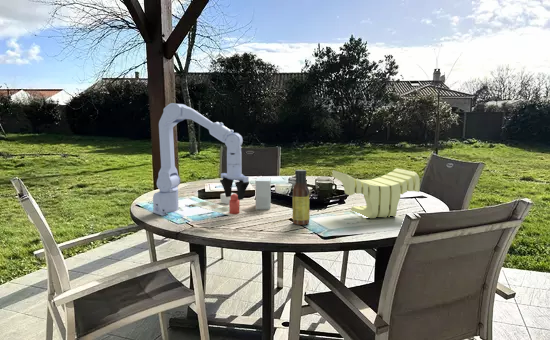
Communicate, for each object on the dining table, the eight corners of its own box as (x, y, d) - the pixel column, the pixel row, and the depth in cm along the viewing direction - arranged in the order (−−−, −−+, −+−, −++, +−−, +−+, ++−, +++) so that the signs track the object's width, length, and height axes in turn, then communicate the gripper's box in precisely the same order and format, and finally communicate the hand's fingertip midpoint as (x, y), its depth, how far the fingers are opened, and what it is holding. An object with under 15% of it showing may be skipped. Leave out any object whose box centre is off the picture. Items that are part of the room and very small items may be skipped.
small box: (256, 207, 161) (256, 177, 159) (270, 207, 161) (270, 177, 159) (255, 211, 153) (255, 180, 151) (270, 211, 153) (270, 180, 151)
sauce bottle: (312, 224, 135) (314, 170, 132) (298, 226, 132) (299, 171, 129) (302, 220, 140) (303, 168, 138) (288, 222, 137) (289, 169, 135)
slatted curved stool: (348, 222, 138) (350, 175, 136) (331, 212, 153) (332, 169, 151) (417, 217, 146) (420, 173, 144) (394, 208, 161) (396, 168, 159)
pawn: (233, 214, 144) (233, 195, 143) (227, 212, 146) (227, 193, 145) (241, 212, 147) (241, 194, 146) (235, 210, 149) (235, 192, 148)
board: (230, 219, 141) (230, 216, 141) (189, 206, 160) (189, 204, 160) (249, 214, 148) (249, 212, 148) (208, 203, 167) (208, 201, 167)
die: (229, 206, 161) (229, 195, 161) (220, 205, 164) (220, 194, 163) (236, 204, 166) (236, 193, 165) (227, 203, 168) (227, 192, 167)
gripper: (254, 164, 142) (254, 199, 144) (230, 161, 152) (230, 194, 154) (240, 166, 137) (240, 202, 139) (216, 163, 147) (217, 196, 148)
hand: (234, 198), depth 146 cm, fingers open, 7 cm apart
